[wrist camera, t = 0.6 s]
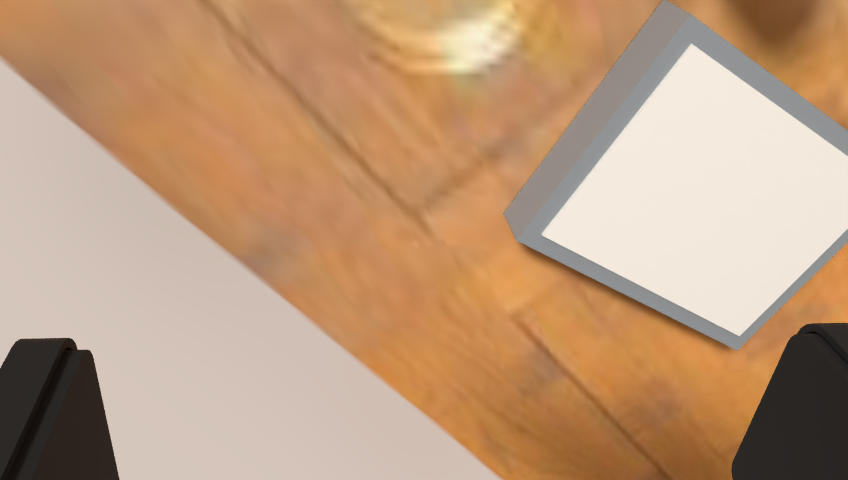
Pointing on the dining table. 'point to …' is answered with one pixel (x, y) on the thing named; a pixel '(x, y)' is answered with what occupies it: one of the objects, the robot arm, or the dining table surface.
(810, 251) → the plinth
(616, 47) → the dining table surface
